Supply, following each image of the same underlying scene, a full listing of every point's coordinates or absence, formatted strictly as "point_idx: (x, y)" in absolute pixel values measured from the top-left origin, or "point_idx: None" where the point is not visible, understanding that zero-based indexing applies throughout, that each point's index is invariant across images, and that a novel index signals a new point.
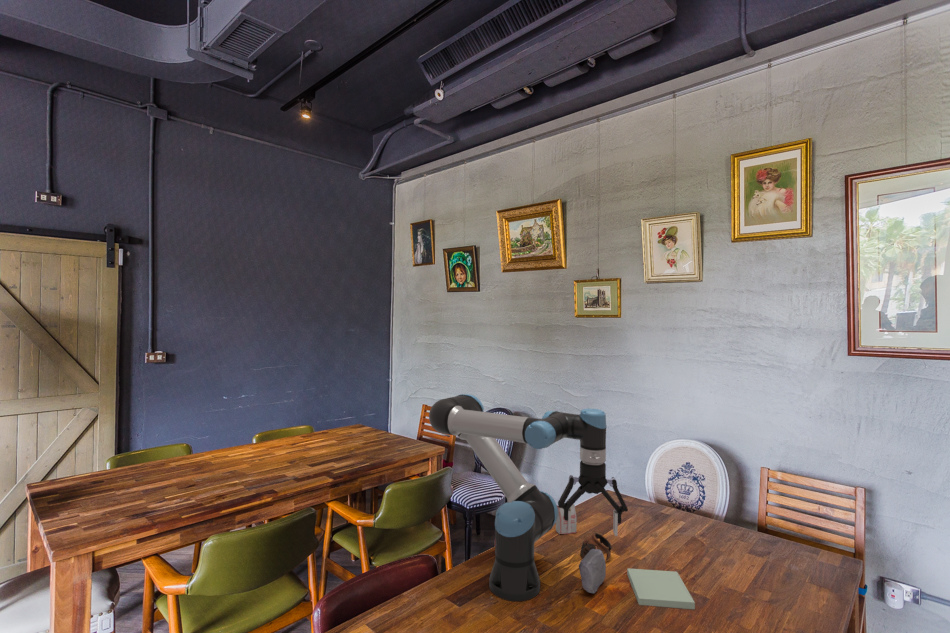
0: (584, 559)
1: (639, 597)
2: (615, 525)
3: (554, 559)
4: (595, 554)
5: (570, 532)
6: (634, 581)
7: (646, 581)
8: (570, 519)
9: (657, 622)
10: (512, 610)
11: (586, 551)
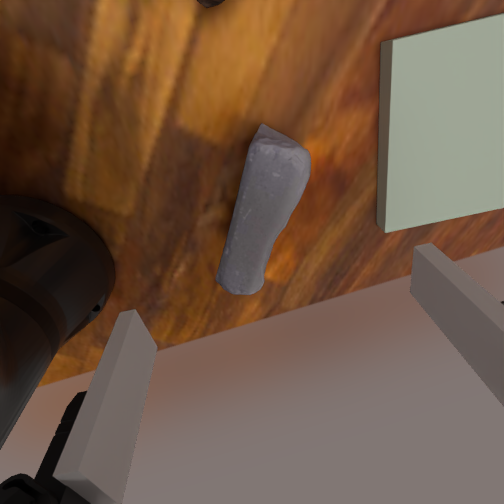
0: (234, 265)
1: (388, 227)
2: (452, 340)
3: (58, 4)
4: (276, 222)
5: (155, 350)
6: (396, 143)
7: (439, 128)
8: (136, 428)
9: (402, 269)
10: (88, 332)
11: (210, 2)
